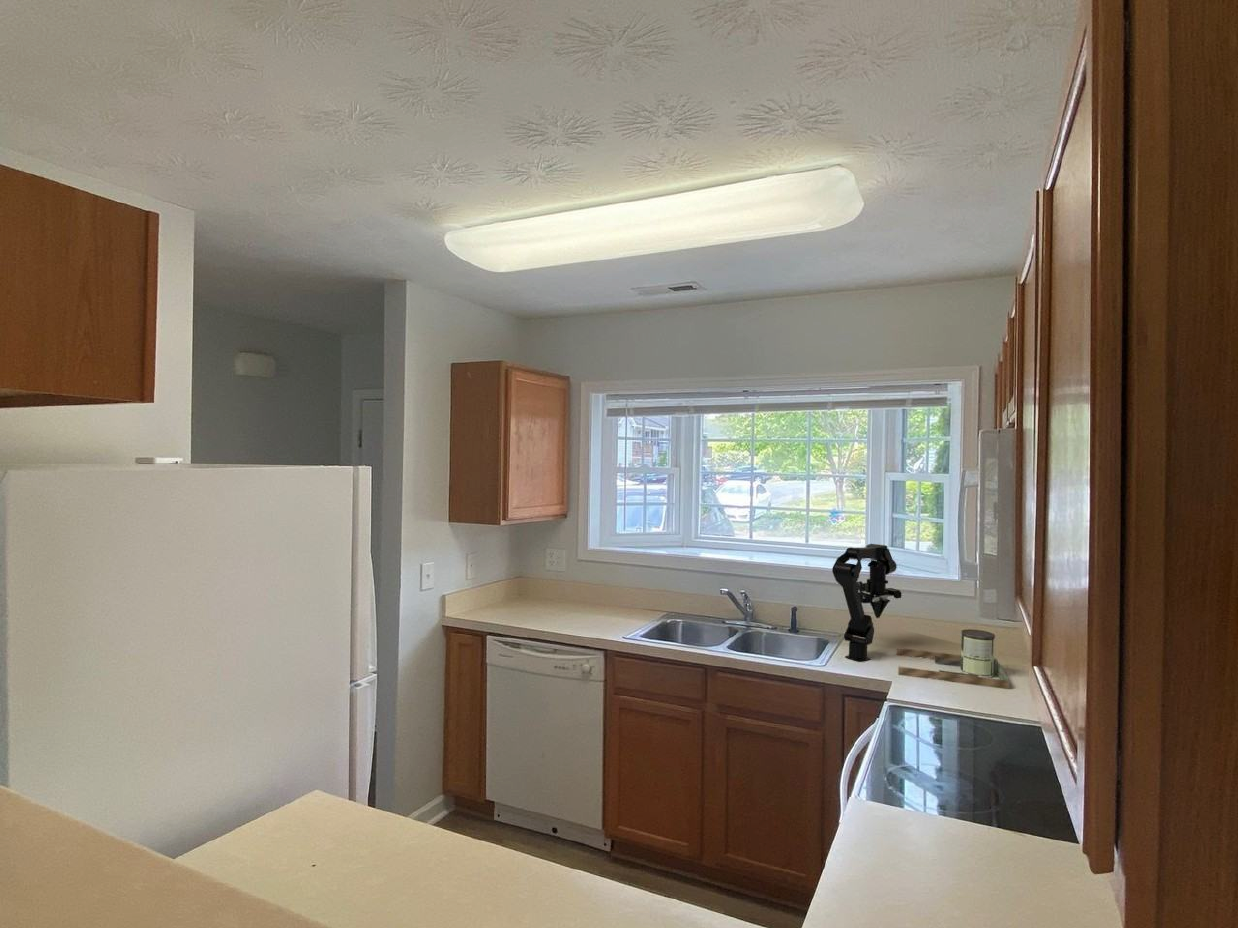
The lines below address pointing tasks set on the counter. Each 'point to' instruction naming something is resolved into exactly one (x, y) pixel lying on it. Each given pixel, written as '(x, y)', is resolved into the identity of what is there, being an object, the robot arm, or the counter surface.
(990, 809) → the counter surface
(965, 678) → the brown wooden frame
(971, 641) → the coffee can
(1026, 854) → the counter surface
